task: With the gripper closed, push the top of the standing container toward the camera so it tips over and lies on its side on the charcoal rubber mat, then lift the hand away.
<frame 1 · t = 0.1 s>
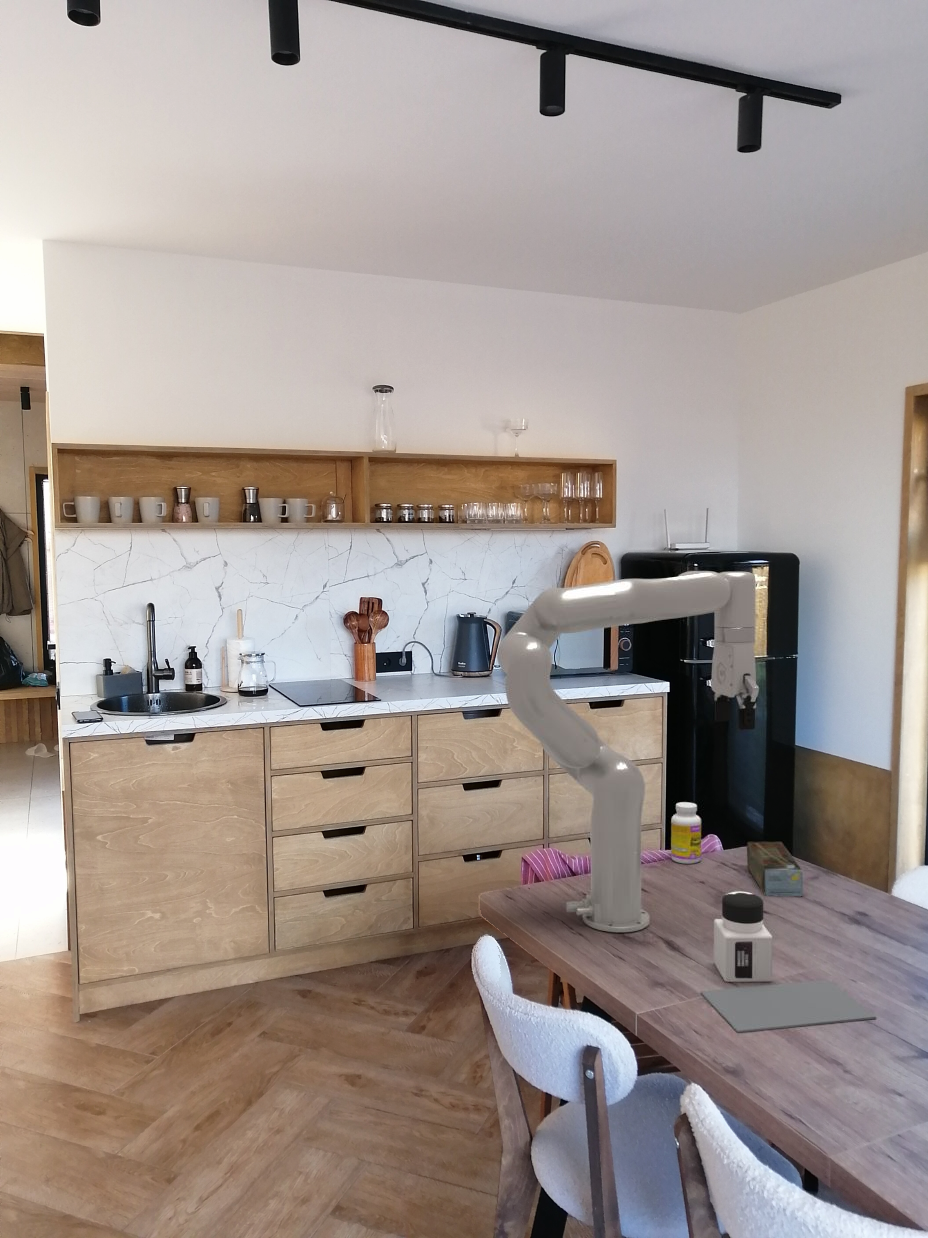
hand: (734, 725, 184), 37 cm above the table, tool pointing down, fingers open, 9 cm apart
beverage carton: (773, 883, 204), on the table
container: (742, 973, 159), on the table
rubber mat: (785, 1005, 147), on the table
supplement bottle: (686, 861, 219), on the table
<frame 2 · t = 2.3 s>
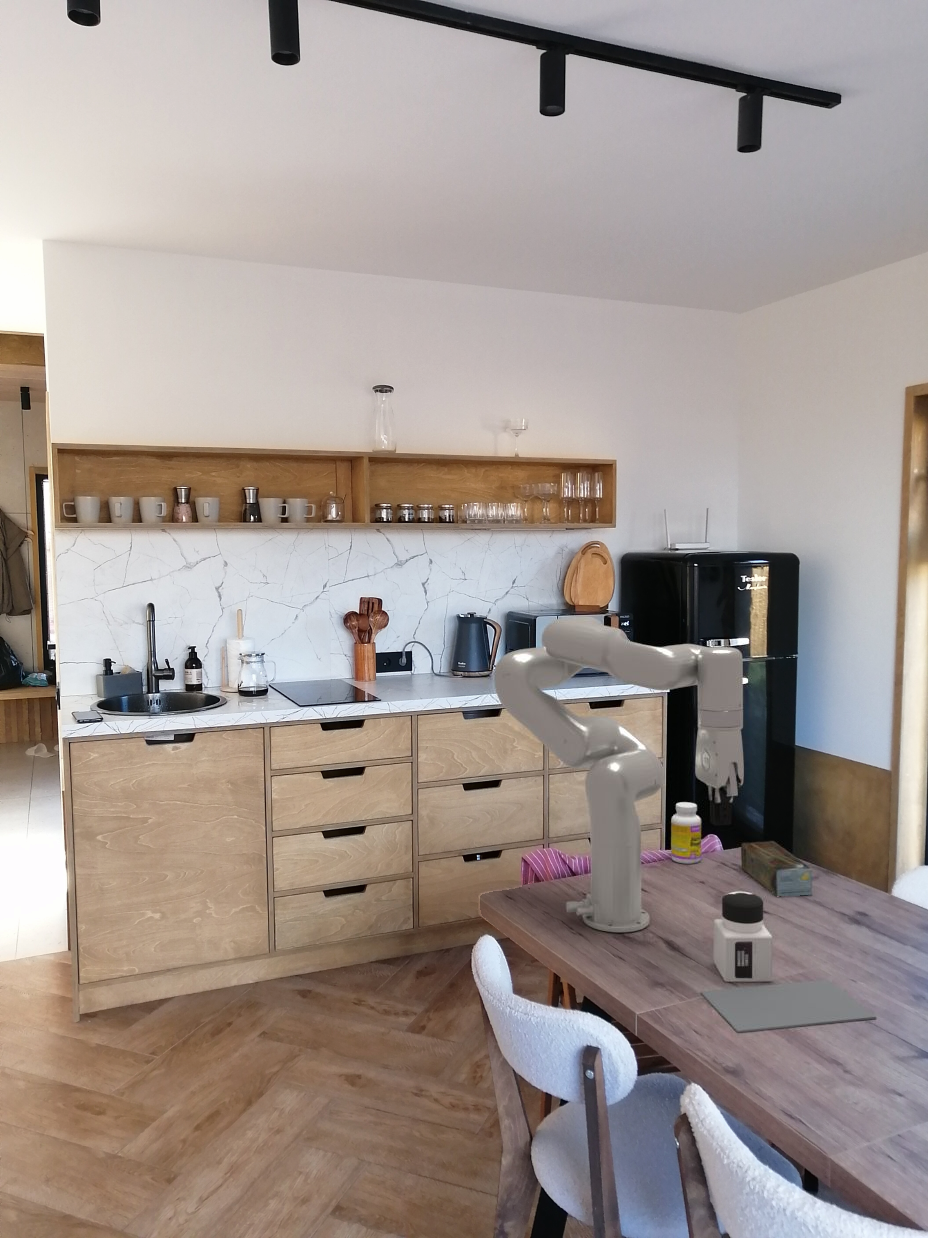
hand: (720, 823, 167), 23 cm above the table, tool pointing down, fingers closed
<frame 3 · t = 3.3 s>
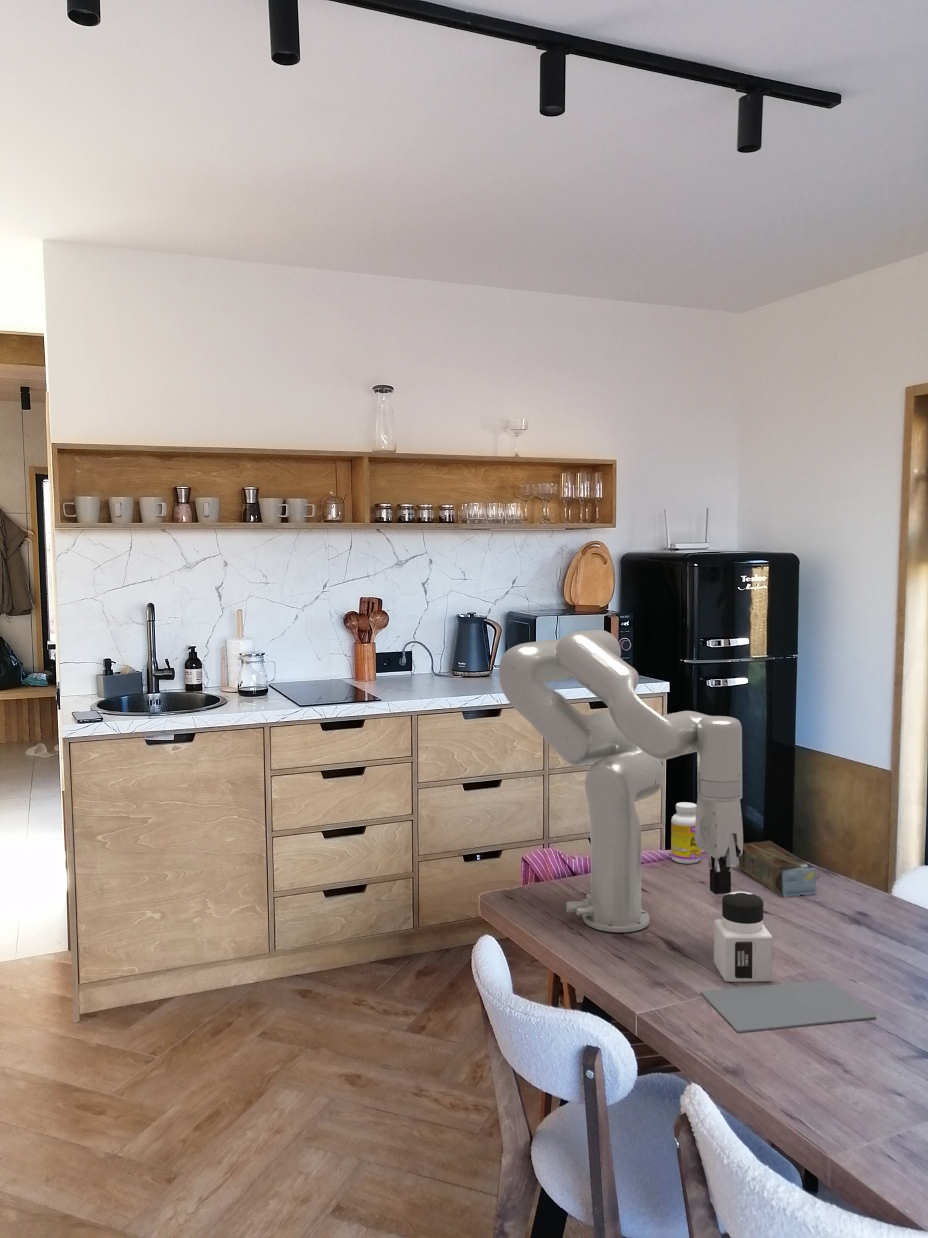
hand: (720, 892, 167), 11 cm above the table, tool pointing down, fingers closed
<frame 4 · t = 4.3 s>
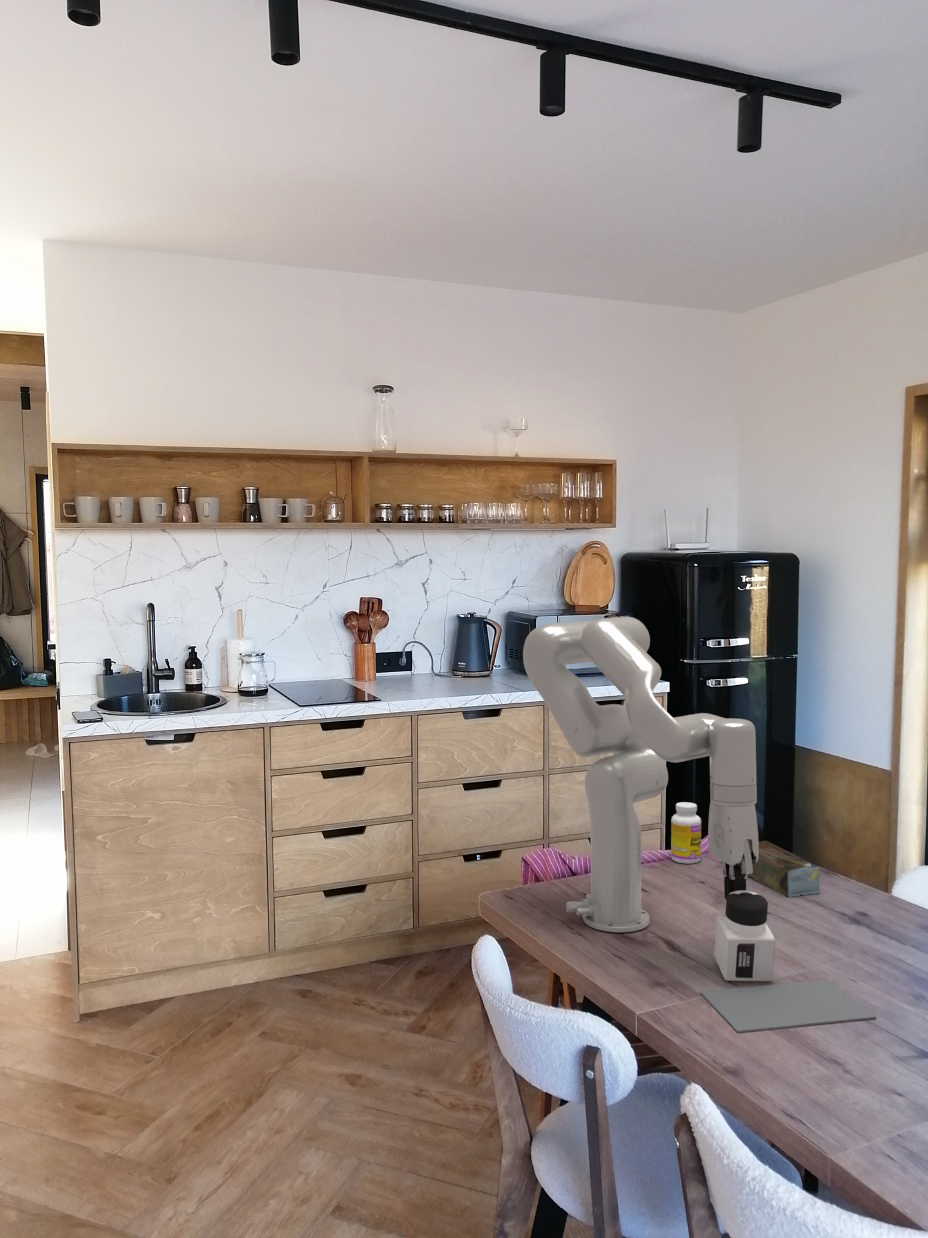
hand: (735, 900, 162), 11 cm above the table, tool pointing down, fingers closed
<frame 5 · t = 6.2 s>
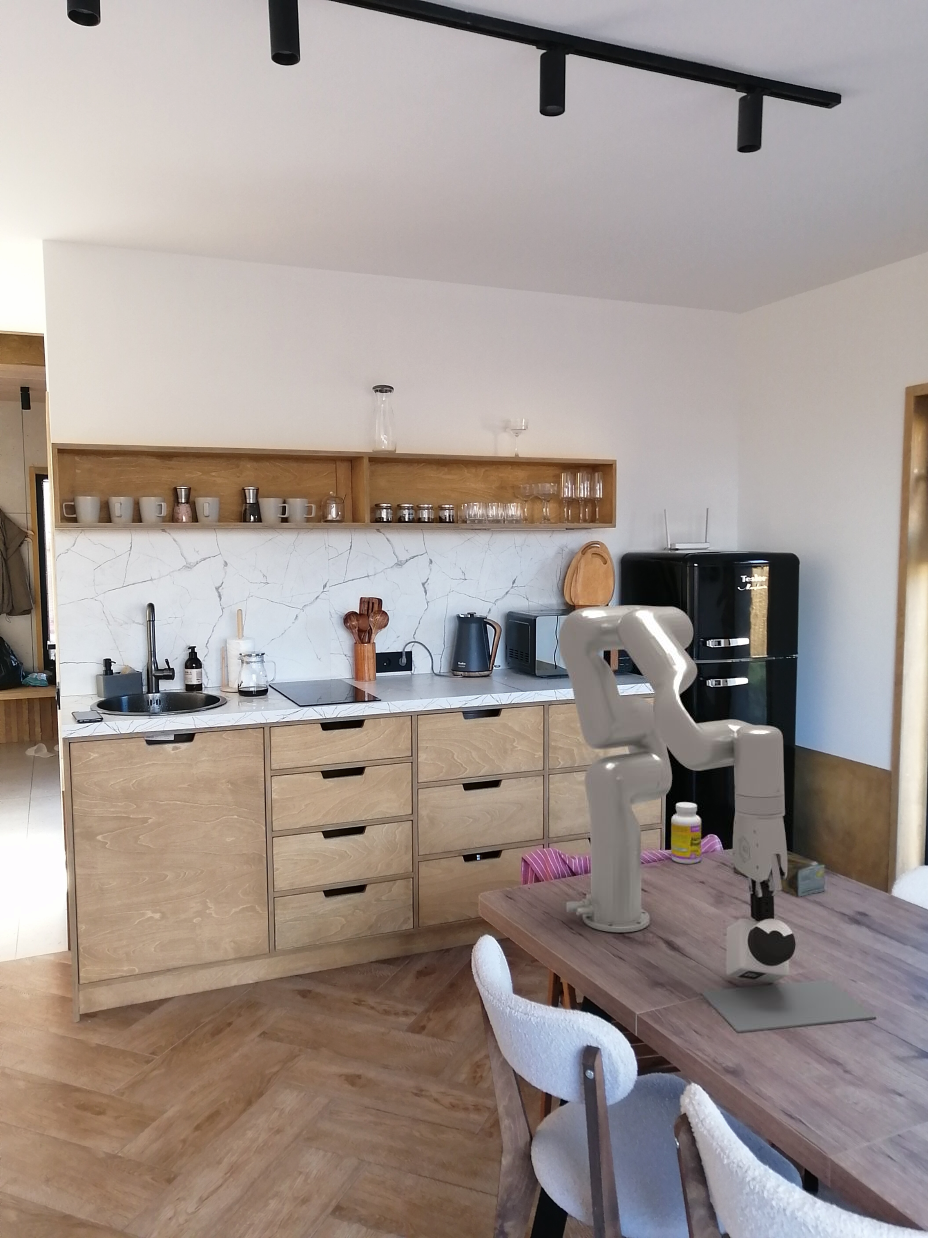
hand: (762, 918, 153), 11 cm above the table, tool pointing down, fingers closed
container: (749, 955, 157), point 4 cm above the table, touching gripper
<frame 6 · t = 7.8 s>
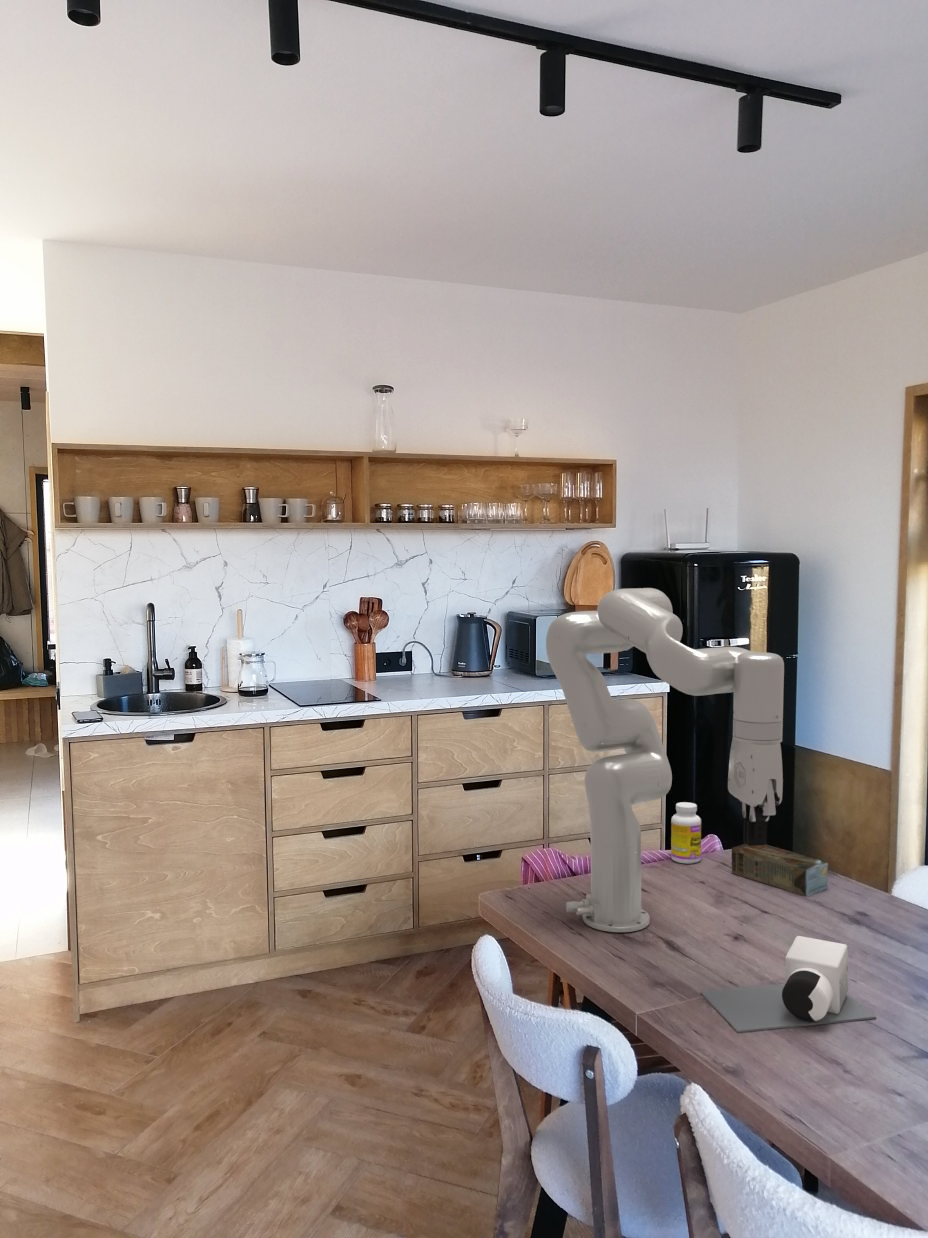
hand: (754, 843, 153), 23 cm above the table, tool pointing down, fingers closed
container: (822, 961, 151), point 5 cm above the table, touching rubber mat
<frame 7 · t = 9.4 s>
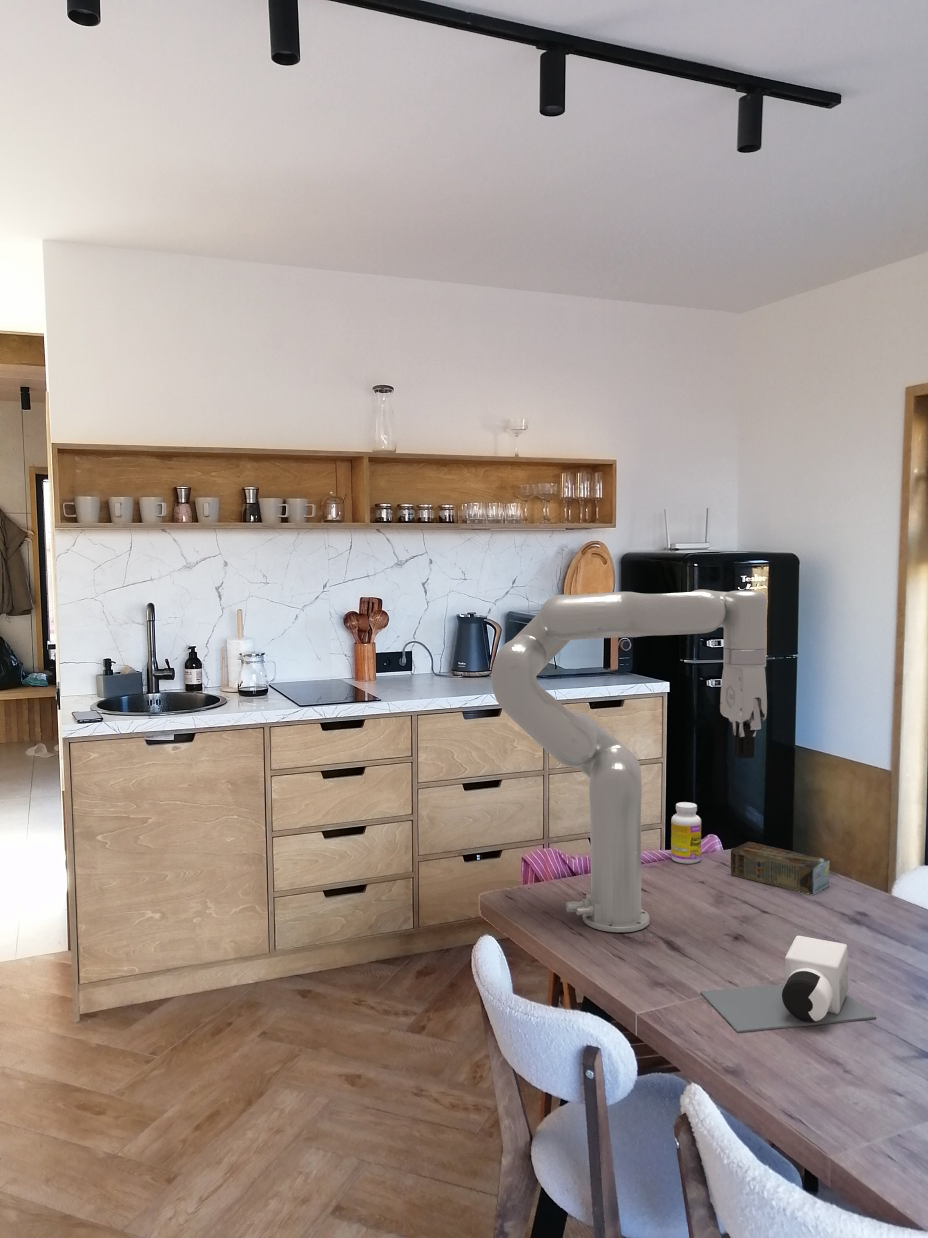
hand: (744, 757, 177), 32 cm above the table, tool pointing down, fingers closed
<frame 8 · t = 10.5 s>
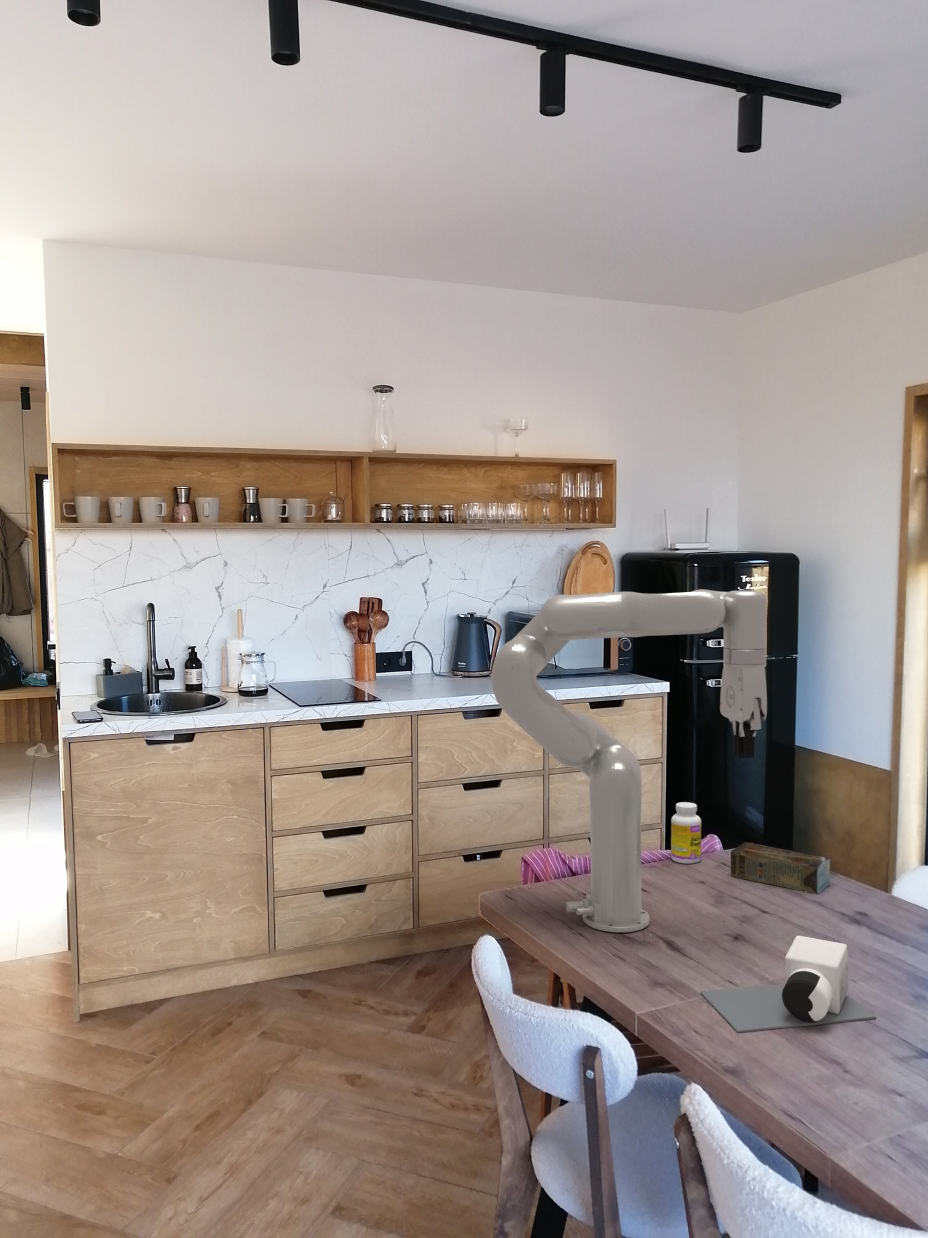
hand: (744, 757, 177), 32 cm above the table, tool pointing down, fingers closed
at the end: container tilted 97°; container touching rubber mat; container inside the target area (5.4 cm from its centre), point 5.1 cm above the table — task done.
